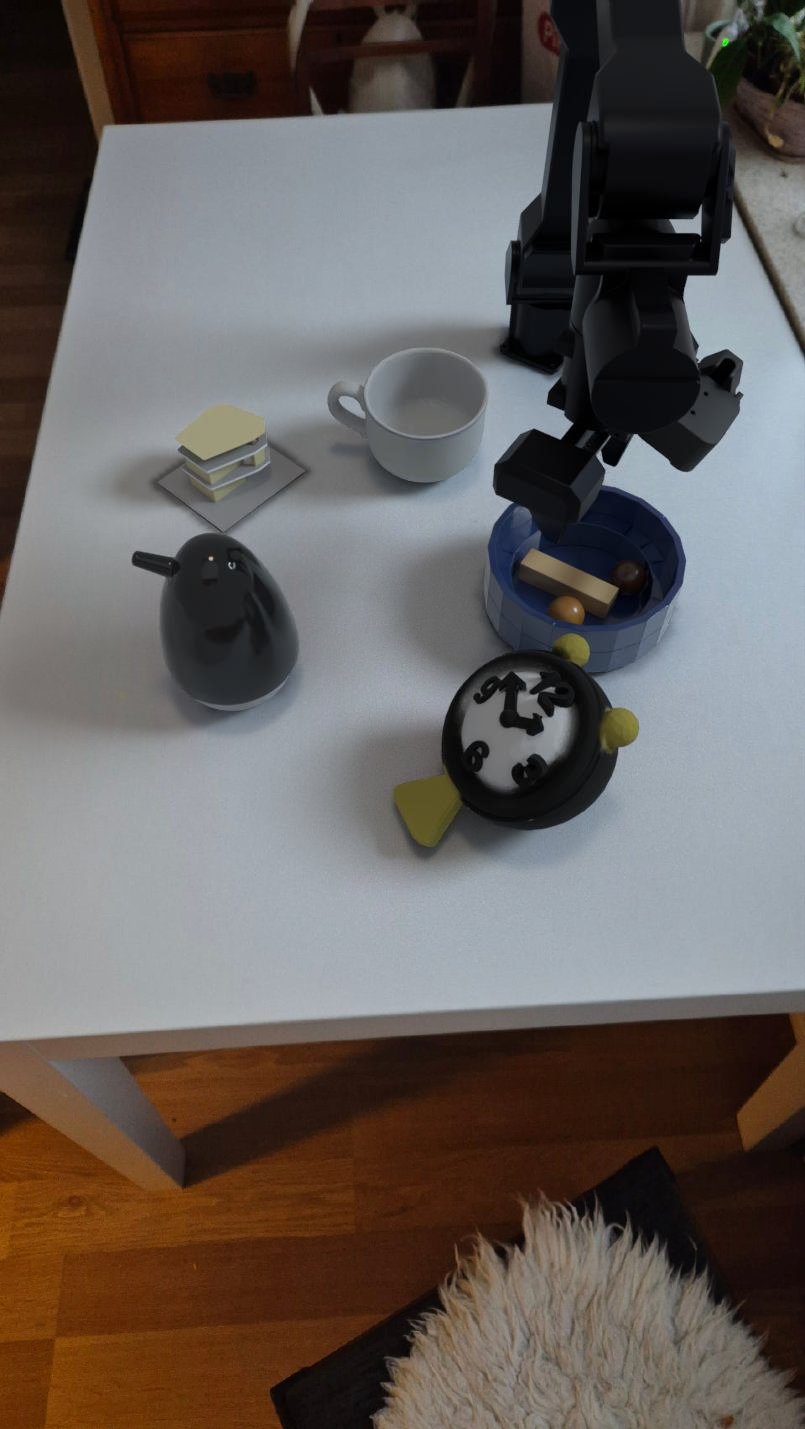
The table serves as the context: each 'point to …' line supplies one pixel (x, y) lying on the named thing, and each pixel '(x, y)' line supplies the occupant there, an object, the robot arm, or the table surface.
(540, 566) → the stick
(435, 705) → the table surface
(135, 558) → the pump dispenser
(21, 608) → the table surface
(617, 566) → the bead
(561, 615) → the bead
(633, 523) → the bowl
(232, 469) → the stacked layers on plate
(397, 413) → the teacup
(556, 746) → the alarm clock
